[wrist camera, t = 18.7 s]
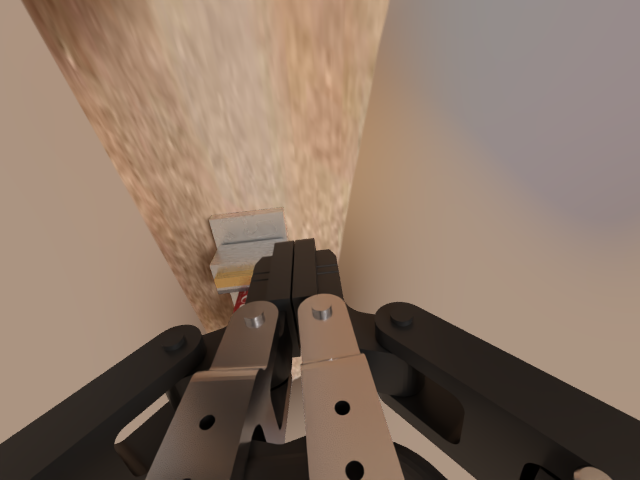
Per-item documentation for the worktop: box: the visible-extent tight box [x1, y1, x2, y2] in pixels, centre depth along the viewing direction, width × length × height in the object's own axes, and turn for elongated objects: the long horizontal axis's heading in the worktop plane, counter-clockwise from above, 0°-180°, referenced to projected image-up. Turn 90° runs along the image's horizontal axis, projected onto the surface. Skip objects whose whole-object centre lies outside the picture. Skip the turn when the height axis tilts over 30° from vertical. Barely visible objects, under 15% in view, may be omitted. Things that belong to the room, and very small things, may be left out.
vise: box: [209, 207, 289, 307], centre depth 41 cm, size 16×9×6 cm, turn 6°
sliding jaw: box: [210, 238, 283, 294], centre depth 38 cm, size 4×8×6 cm, turn 96°
